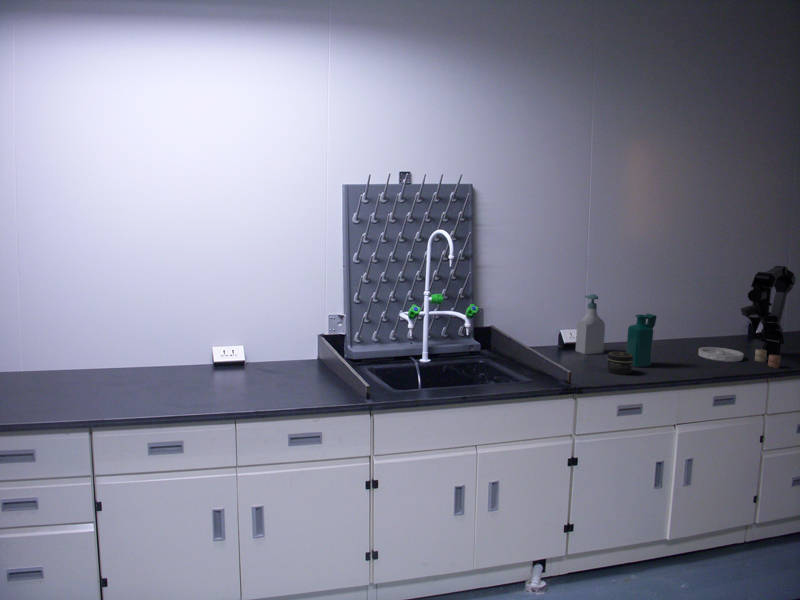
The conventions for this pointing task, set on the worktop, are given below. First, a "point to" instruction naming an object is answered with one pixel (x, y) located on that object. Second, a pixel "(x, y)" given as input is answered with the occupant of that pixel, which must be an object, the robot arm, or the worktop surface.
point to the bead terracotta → (774, 361)
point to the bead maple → (760, 355)
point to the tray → (720, 354)
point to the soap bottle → (590, 331)
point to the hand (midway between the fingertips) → (759, 334)
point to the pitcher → (641, 340)
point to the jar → (619, 363)
